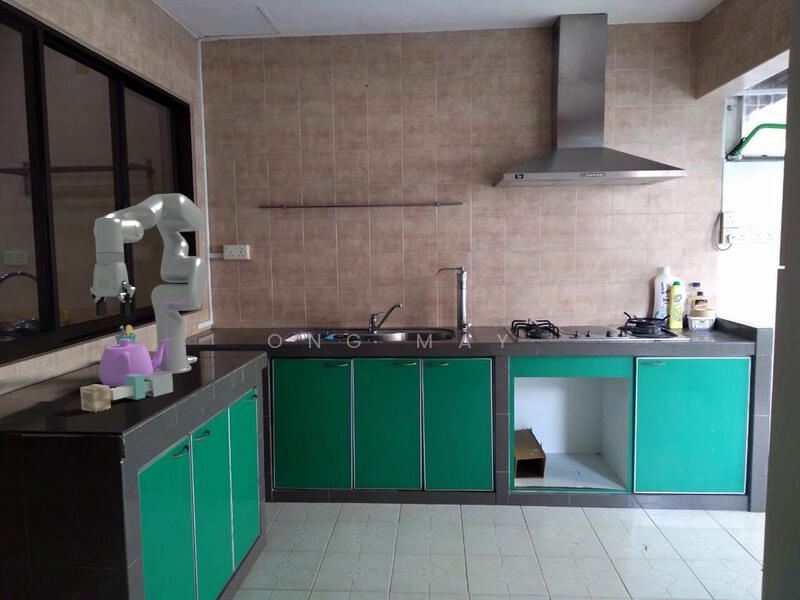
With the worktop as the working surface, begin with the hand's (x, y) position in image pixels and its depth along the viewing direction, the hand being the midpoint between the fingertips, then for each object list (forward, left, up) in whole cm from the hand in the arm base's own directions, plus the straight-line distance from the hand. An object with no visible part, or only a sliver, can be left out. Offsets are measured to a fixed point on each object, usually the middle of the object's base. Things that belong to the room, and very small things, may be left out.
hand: (113, 315), depth 183 cm
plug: (-1, +9, -24) cm, 26 cm away
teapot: (-12, -12, -25) cm, 30 cm away
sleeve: (-7, +9, -24) cm, 27 cm away
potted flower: (-39, -51, -25) cm, 69 cm away
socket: (+13, +9, -24) cm, 29 cm away
